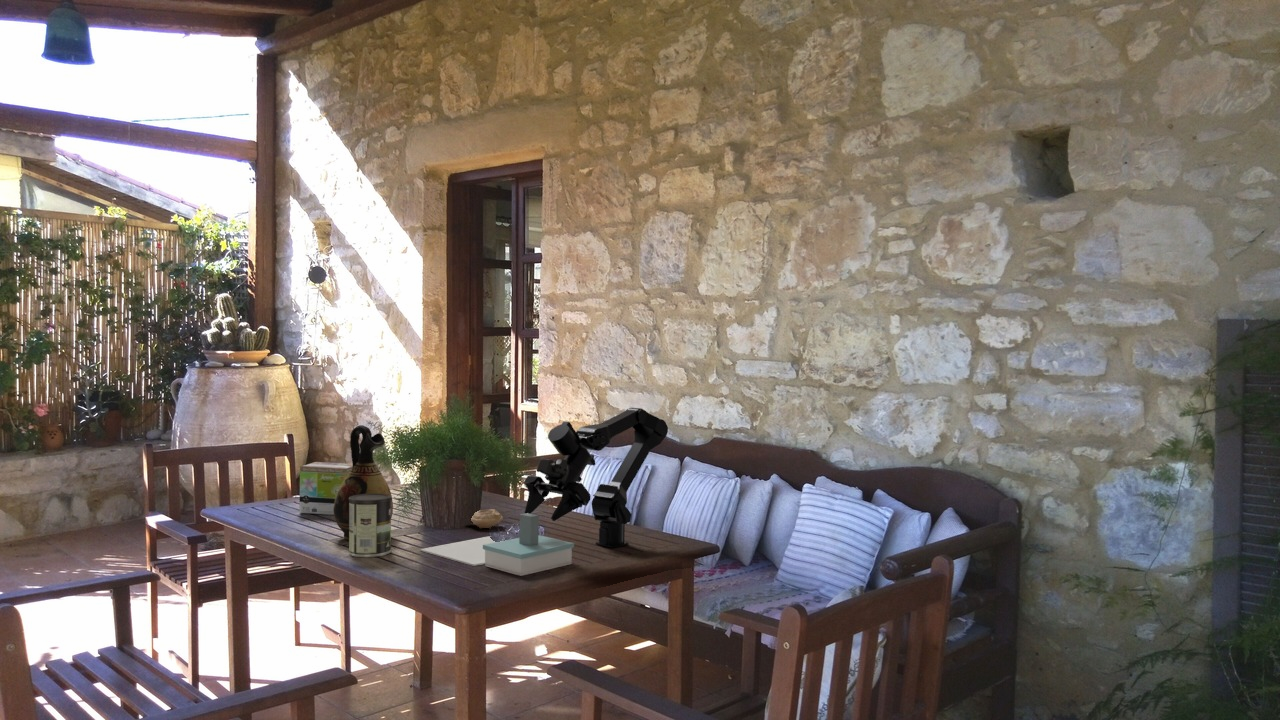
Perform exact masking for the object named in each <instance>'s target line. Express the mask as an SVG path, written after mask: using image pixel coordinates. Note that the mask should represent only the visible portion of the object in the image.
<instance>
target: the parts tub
mask: <svg viewBox="0 0 1280 720" xmlns="http://www.w3.org/2000/svg"><path fill="white" fill-rule="evenodd" d="M572 550H573V549H572V548H569V549H564V550H560V551H555V552H551V553H546V554H542V555H537V556H532V557H528V558H523V559H519V558H515V557H511V556H507V555H503V554H500V553H496V552H492V551H488V550H485V564H484V567H488V568H490V569H491V568H492V569H495V570H499V571H502V572H506V573H509V574H513V575H516V576H521V577H522V576H526V575H531V574H534V573H540V572H543V571H547V570H552V569H556V568H560V567H565V566H567V565H572V561H573V560H572V559H573V555H572V554H573V552H572Z"/></svg>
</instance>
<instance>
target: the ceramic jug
mask: <svg viewBox="0 0 1280 720" xmlns="http://www.w3.org/2000/svg"><path fill="white" fill-rule="evenodd" d="M371 431H372V430H371V428H369V427H368V426H365V425H364V424H360V425H357V426H355V427H354V428H353V429H352V431H351V433H350V436H349V437H350V438H349V439H350V442H349V444H350V446H349V447H350V454H351V455H350V456H351V462H352V463H351V464H353V467H352V470H351V471H350V473H348V475H347V476H346V478H345V480H344V481H343V483H342V484H341V486H340V488H339V490H338V493H337V495H336V498H335V502H334V508H333V512H334V515H333V518H334V521H335V523H336V525H337V526H338V527H339V528H340V530H341V532H343V538H344V540H347V541H349V497H351V496H354V495H360V494H388V495H391V496H392V497H393V495H392V492H391V489H390V486H389V484H388V482H387V481H386V479H385V477H384V476H383V473H382V472H381V470H380V469H379V467H378V465H376V464H377V463H376V462H375V460H374V457H373V456H374V455H373V451H374V450H377V449H378V448H381V447H383V446H384V445H385V438H384V437H383V435H382V434H381V433H380V432H378V433H376V434H373V436H372V432H371ZM360 435H361V437H362V438H361V441H360V440H359V439H360ZM393 512H394V503H393V498H392V499H391V519H392V518H393Z"/></svg>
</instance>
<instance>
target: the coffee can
mask: <svg viewBox="0 0 1280 720" xmlns="http://www.w3.org/2000/svg"><path fill="white" fill-rule="evenodd" d="M391 495H392V494H391ZM391 495H388V494H360V495H354V496H351V497H349V540H348V546H349V548H348V555H349V556H352V557H355V558H376V557H382V556H386V555H389V554H391V553H392V518H391V499H392V500H393V495H392V496H391Z"/></svg>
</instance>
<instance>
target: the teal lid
mask: <svg viewBox="0 0 1280 720" xmlns="http://www.w3.org/2000/svg"><path fill="white" fill-rule="evenodd" d="M539 516H540V515H538V514H534V513H531V514H530V513H525V512H524V513H520V514H519V536H518V537H516V538H511V539H506V540H505V539H504V540H505V541H500V542H495V543H490V544H485V545H483V549H484V550H488V551H492V552H496V553H500V554H503V555H507V556H511V557H515V558H519V559H523V558H528V557H532V556H537V555H542V554H546V553H551V552H555V551H560V550H564V549H569V548H575V543H574V542H570V541H565V540H562V539H558V538H553V537H549V536H543V535H540V534H539V528H540V527H539V526H540V525H539V523H540V522H539V521H540V520H539V519H540V518H539Z"/></svg>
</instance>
